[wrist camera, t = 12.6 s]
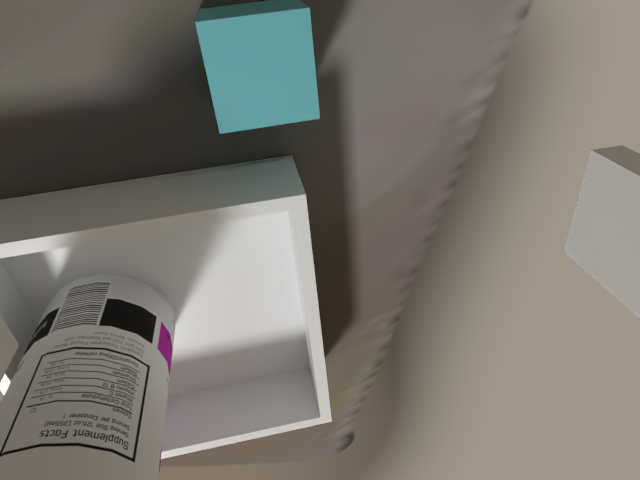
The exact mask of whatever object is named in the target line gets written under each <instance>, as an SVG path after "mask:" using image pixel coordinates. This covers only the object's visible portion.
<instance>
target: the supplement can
mask: <svg viewBox="0 0 640 480" xmlns="http://www.w3.org/2000/svg"><path fill="white" fill-rule="evenodd" d="M174 334H175V319H174V312H173V309H172V307H171V306H170V304H169V303H168V301H167V300H166V298H165V297H164V295H162V294H161V293H160V292H158V291H157V290H155V289H154V288H153V287H151V286H150V285H149V284H147V283H145V282H142V281H139V280H136V279H133V278H130V277H127V276H122V275H108V274H99V275H93V276H88V277H83V278H78V279H76V280H74V281H73V282H71V283H69V284H67V285H65V286H64V287H62V288H60V289H59V290H58V291H57V293H56V294H55V295H54V296H53V298H52V299H51V300H50V301H49V303H48V304H47V306H46V309H45V311H44V313H43V315H42V317H41V319H40V321H39V323H38V325H37V328H36V330H35V332H34V334H33V336H32V338H31V340H30V342H29V344H28V347H27V349H26V351H25V353H24V355H23V357H22V359H21V361H20V363H19V366H18V368H17V370H16V372H15V374H14V376H13V378H12V380H11V382H10V385H9V387H8V389H7V391H6V393H5V395H4V397H3V399H2V401H1V404H0V480H158V479H159V470H160V461H161V452H162V443H163V434H164V425H165V416H166V406H167V397H168V388H169V379H170V370H171V361H172V352H173V343H174Z"/></svg>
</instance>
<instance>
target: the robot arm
mask: <svg viewBox="0 0 640 480" xmlns="http://www.w3.org/2000/svg"><path fill="white" fill-rule="evenodd" d="M564 253H566V254H567V255H568V256H569V257H570V258H571V259H573V260H574V261H575V262H576V263H577V264H578V265H579V266H580V267H581V268H583V269H584V270H585V271H586V272H587V273H588V274H589V275H591V276H592V277H593V278H594V279H595V280H596V281H597V282H598V283H600V284H601V285H602V286H603V287H604V288H605V289H607V290H608V291H609V292H610V293H611V294H612V295H613V296H614V297H616V298H617V299H618V300H619V301H620V302H621V303H622V304H624V305H625V306H626V307H627V308H628V309H629V310H630V311H631V312H632V313H634V314H635V315H636V316H637V317H638V318H639V319H640V154H639V153H637V152H635V151H633V150H631V149H629V148H627V147H624V146H615V147H609V148H602V149H595V150H591V153H590V157H589V161H588V165H587V168H586V172H585V175H584V179H583V183H582V186H581V190H580V194H579V197H578V202H577V205H576V209H575V212H574V216H573V219H572V223H571V227H570V230H569V234H568V238H567V241H566V245H565V249H564ZM18 346H19V345H18V343H17V341H16V340H15V338H14V336H13V335H12V333H11V331H10V330H9V328H8V326H7V325H6V323H5V321H4V320H3V318H2V316H1V315H0V382H1V380H2V378H3V376H4V374H5V372H6V370H7V368H8V366H9V364H10V362H11V360H12V358H13V356H14V354H15V352H16V350H17V348H18Z"/></svg>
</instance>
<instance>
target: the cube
mask: <svg viewBox="0 0 640 480" xmlns="http://www.w3.org/2000/svg"><path fill="white" fill-rule="evenodd" d="M195 24H196V29H197V33H198V38H199V42H200V47H201V51H202V56H203V60H204V65H205V69H206V74H207V79H208V83H209V88H210V92H211V97H212V101H213V106H214V110H215V115H216V119H217V124H218V128H219V133H220V134H223V133H229V132H236V131H243V130H249V129H256V128H262V127H269V126H275V125H282V124H288V123H295V122H301V121H308V120H315V119H320V112H319V101H318V90H317V80H316V69H315V58H314V48H313V37H312V26H311V16H310V7H308V6H307V5H305V4H304V3H302V2H301V1H299V0H267V1H259V2H251V3H243V4H235V5H227V6H219V7H211V8H203V9H199V11H198V14H197V17H196V21H195Z"/></svg>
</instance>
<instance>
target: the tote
mask: <svg viewBox="0 0 640 480" xmlns="http://www.w3.org/2000/svg"><path fill="white" fill-rule="evenodd" d="M99 274H108V275H122V276H127V277H130V278H133V279H136V280H139V281H142V282H145V283H147V284H149V285H150V286H151V287H153V288H154V289H155V290H157V291H158V292H160V293H161V294H162V295H164V297H165V298H166V300H167V301H168V303H169V304H170V306H171V307H172V309H173V312H174V319H175V334H174V343H173V352H172V361H171V370H170V379H169V388H168V397H167V406H166V416H165V425H164V434H163V443H162V452H161V459H163V458H168V457H172V456H177V455H182V454H186V453H191V452H195V451H200V450H204V449H209V448H213V447H218V446H223V445H227V444H232V443H236V442H241V441H245V440H250V439H254V438H259V437H263V436H268V435H273V434H277V433H282V432H286V431H291V430H295V429H300V428H304V427H309V426H314V425H318V424H323V423H327V422H332V419H331V411H330V402H329V393H328V384H327V375H326V367H325V358H324V349H323V340H322V332H321V323H320V314H319V305H318V297H317V288H316V279H315V270H314V261H313V253H312V244H311V235H310V226H309V218H308V209H307V200H306V193H305V190H304V188H303V185H302V182H301V179H300V176H299V174H298V171H297V168H296V165H295V162H294V160H293V157H292V155H289V156H282V157H276V158H269V159H263V160H256V161H250V162H243V163H237V164H230V165H224V166H217V167H210V168H204V169H197V170H191V171H184V172H178V173H171V174H165V175H158V176H152V177H145V178H139V179H132V180H126V181H119V182H113V183H106V184H100V185H93V186H87V187H80V188H74V189H67V190H61V191H54V192H47V193H41V194H34V195H28V196H21V197H15V198H8V199H2V200H0V315H1V316H2V318H3V320H4V321H5V323H6V325H7V326H8V328H9V330H10V331H11V333H12V335H13V336H14V338H15V340H16V341H17V343H18V345H19V346H18V348H17V350H16V352H15V354H14V356H13V358H12V360H11V362H10V364H9V366H8V368H7V370H6V372H5V374H4V376H3V378H2V380H1V382H0V390H1V392H2V393H3V395H5V393H6V391H7V389H8V387H9V385H10V382H11V380H12V378H13V376H14V374H15V372H16V370H17V368H18V366H19V363H20V361H21V359H22V357H23V355H24V353H25V351H26V349H27V347H28V344H29V342H30V340H31V338H32V336H33V334H34V332H35V330H36V328H37V325H38V323H39V321H40V319H41V317H42V315H43V313H44V311H45V309H46V306H47V304H48V303H49V301H50V300H51V299H52V298H53V296H54V295H55V294H56V293H57V291H58V290H59V289H60V288H62V287H64V286H65V285H67V284H69V283H71V282H73V281H74V280H76V279H78V278H83V277H88V276H93V275H99Z"/></svg>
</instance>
